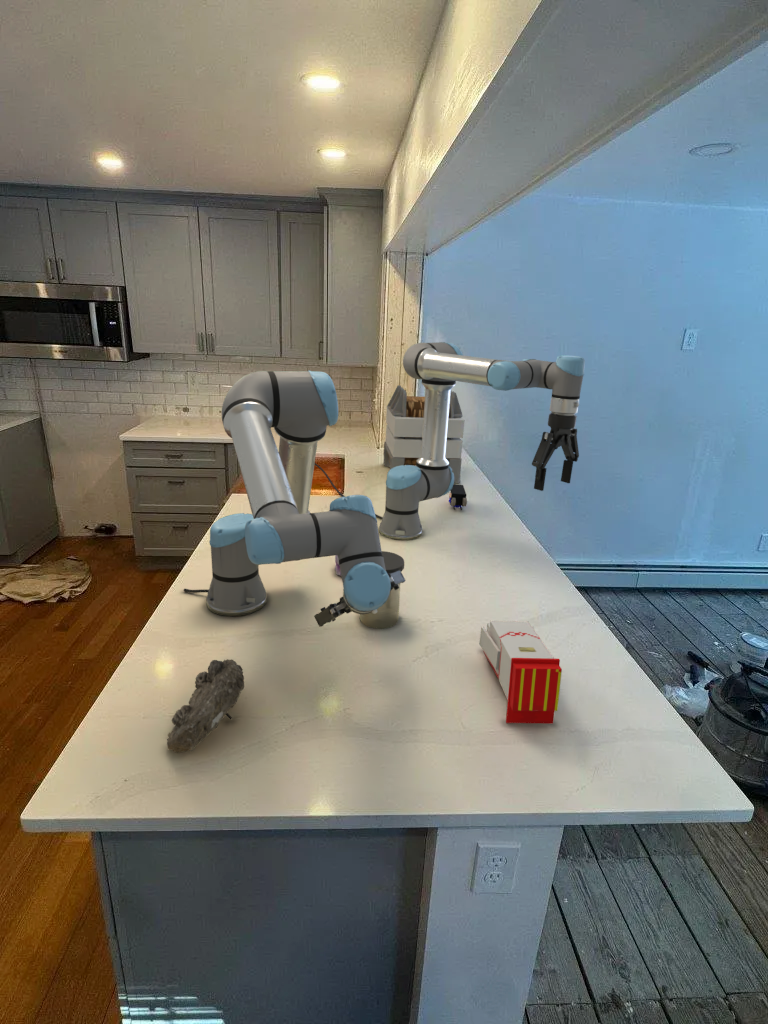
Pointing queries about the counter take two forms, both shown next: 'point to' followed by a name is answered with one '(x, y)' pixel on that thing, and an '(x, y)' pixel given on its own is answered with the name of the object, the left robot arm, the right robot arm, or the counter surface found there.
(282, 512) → the left robot arm
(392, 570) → the lid
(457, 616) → the counter surface
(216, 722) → the fossil
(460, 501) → the figurine character
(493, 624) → the toy
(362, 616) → the jar
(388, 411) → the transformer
